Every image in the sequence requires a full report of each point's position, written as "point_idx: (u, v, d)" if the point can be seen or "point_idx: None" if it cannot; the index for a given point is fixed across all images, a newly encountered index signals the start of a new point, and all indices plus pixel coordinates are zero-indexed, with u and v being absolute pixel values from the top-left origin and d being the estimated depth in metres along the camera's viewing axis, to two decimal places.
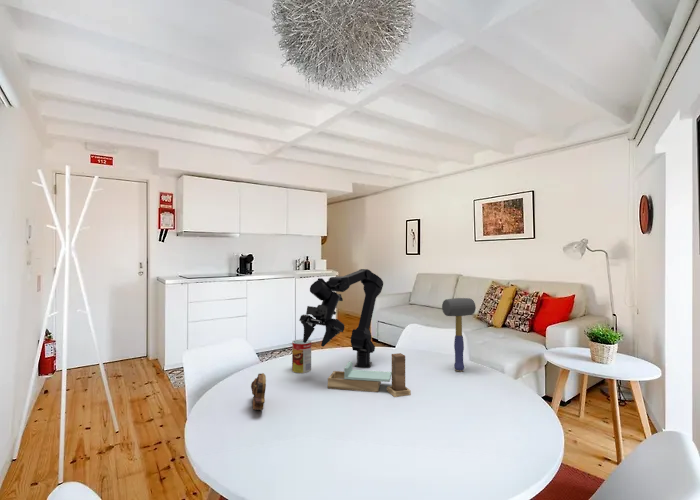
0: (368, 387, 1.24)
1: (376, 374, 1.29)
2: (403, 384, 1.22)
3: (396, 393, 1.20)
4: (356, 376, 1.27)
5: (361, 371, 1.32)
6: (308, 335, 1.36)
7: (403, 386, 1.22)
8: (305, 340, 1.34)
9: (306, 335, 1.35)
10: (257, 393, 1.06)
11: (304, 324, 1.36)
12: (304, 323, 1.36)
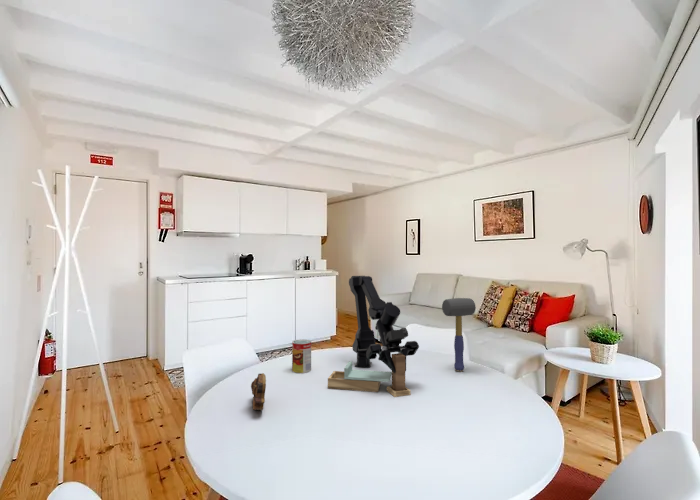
0: (368, 387, 1.24)
1: (376, 374, 1.29)
2: (403, 384, 1.22)
3: (396, 393, 1.20)
4: (356, 376, 1.27)
5: (361, 371, 1.32)
6: None
7: (403, 386, 1.22)
8: None
9: None
10: (257, 393, 1.06)
11: (388, 353, 1.24)
12: (388, 351, 1.24)
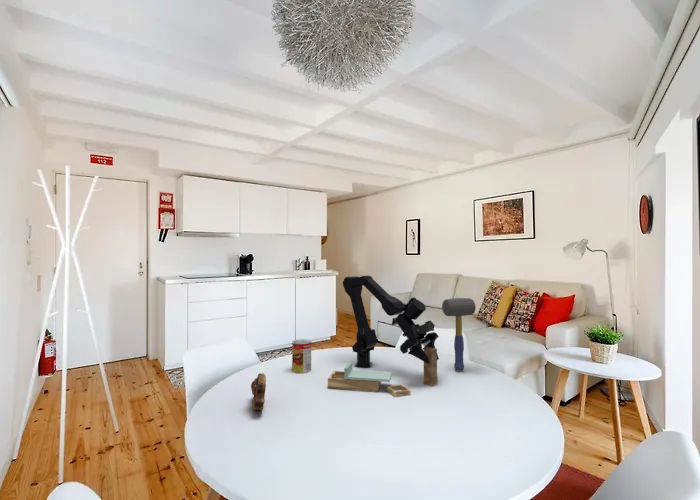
0: (368, 387, 1.24)
1: (376, 374, 1.29)
2: (436, 375, 1.32)
3: (396, 393, 1.20)
4: (356, 376, 1.27)
5: (361, 371, 1.32)
6: None
7: (436, 377, 1.32)
8: None
9: None
10: (257, 393, 1.06)
11: (420, 345, 1.30)
12: (420, 344, 1.30)
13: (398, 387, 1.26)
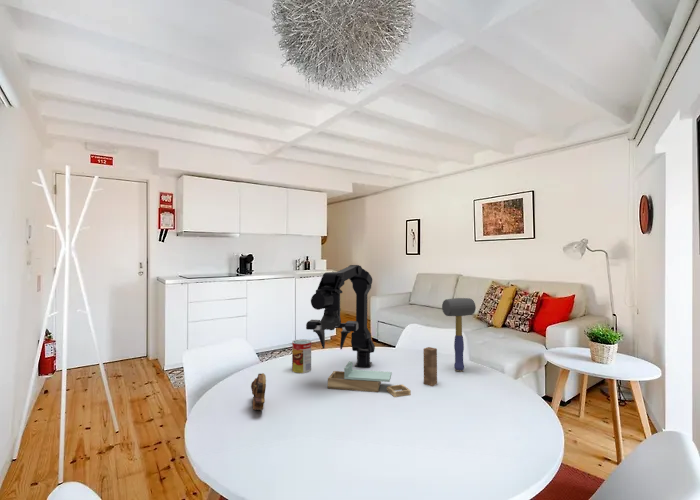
0: (368, 387, 1.24)
1: (376, 374, 1.29)
2: (436, 375, 1.32)
3: (396, 393, 1.20)
4: (356, 376, 1.27)
5: (361, 371, 1.32)
6: (324, 339, 1.33)
7: (436, 377, 1.32)
8: (324, 346, 1.33)
9: (323, 341, 1.32)
10: (257, 393, 1.06)
11: (318, 332, 1.31)
12: (318, 332, 1.30)
13: (398, 387, 1.26)
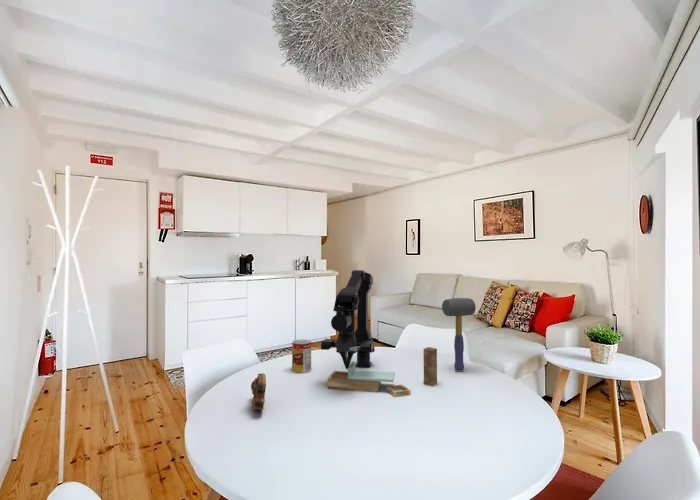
0: (368, 387, 1.24)
1: (379, 374, 1.29)
2: (436, 375, 1.32)
3: (396, 393, 1.20)
4: (359, 376, 1.26)
5: (365, 371, 1.32)
6: None
7: (436, 377, 1.32)
8: None
9: (346, 361, 1.30)
10: (257, 393, 1.06)
11: (341, 353, 1.29)
12: (341, 352, 1.29)
13: (398, 387, 1.26)
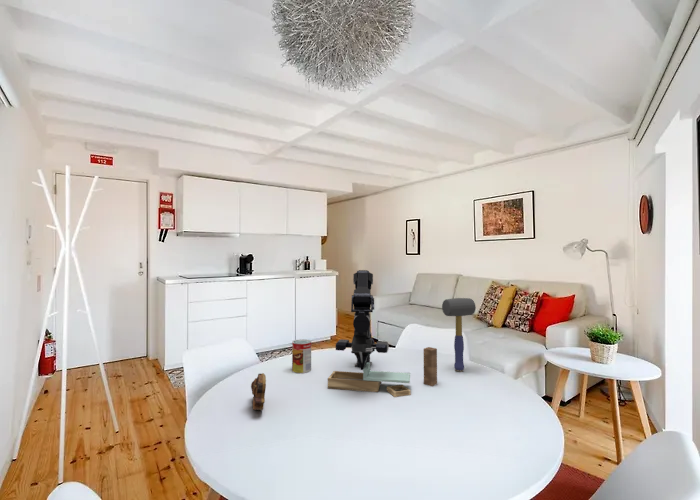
0: (368, 387, 1.24)
1: (395, 375, 1.28)
2: (436, 375, 1.32)
3: (396, 393, 1.20)
4: (375, 377, 1.25)
5: (380, 372, 1.31)
6: None
7: (436, 377, 1.32)
8: None
9: (361, 362, 1.29)
10: (257, 393, 1.06)
11: (357, 354, 1.28)
12: (357, 353, 1.28)
13: (398, 387, 1.26)
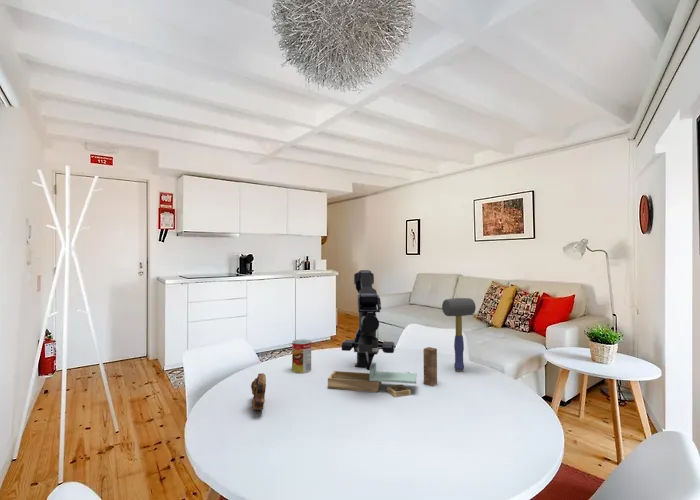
0: (368, 387, 1.24)
1: (401, 376, 1.27)
2: (436, 375, 1.32)
3: (396, 393, 1.20)
4: (381, 378, 1.25)
5: (386, 373, 1.30)
6: (367, 360, 1.30)
7: (436, 377, 1.32)
8: None
9: None
10: (257, 393, 1.06)
11: (363, 354, 1.27)
12: (363, 353, 1.27)
13: (398, 387, 1.26)
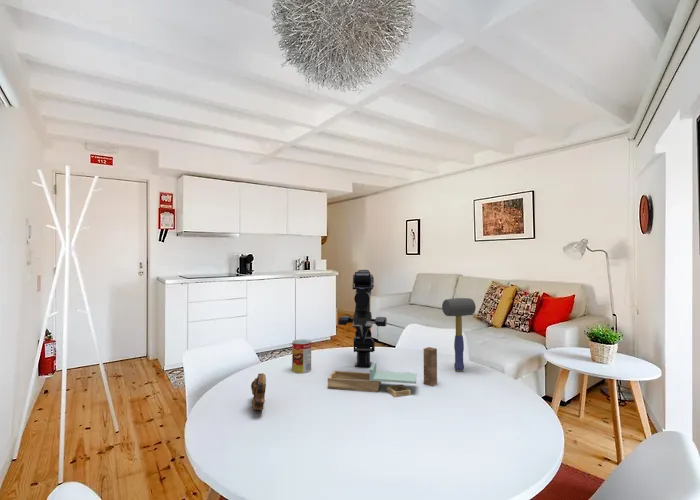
0: (368, 387, 1.24)
1: (401, 376, 1.27)
2: (436, 375, 1.32)
3: (396, 393, 1.20)
4: (381, 378, 1.25)
5: (386, 373, 1.30)
6: (362, 334, 1.42)
7: (436, 377, 1.32)
8: None
9: (362, 336, 1.41)
10: (257, 393, 1.06)
11: (357, 328, 1.40)
12: (358, 327, 1.39)
13: (398, 387, 1.26)
